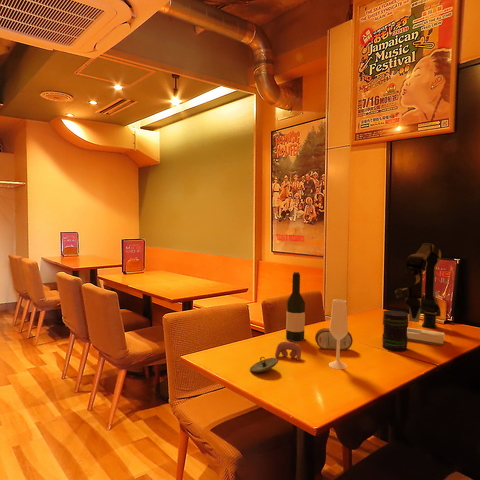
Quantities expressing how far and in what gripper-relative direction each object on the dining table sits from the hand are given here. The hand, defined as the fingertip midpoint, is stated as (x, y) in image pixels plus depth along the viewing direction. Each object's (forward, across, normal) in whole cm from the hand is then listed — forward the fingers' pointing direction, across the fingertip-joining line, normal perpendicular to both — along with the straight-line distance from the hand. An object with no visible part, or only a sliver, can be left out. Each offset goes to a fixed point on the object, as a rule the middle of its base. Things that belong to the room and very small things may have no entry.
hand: (414, 317), depth 173 cm
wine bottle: (+10, +31, -45) cm, 56 cm away
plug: (+2, 0, 0) cm, 2 cm away
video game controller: (+10, +55, -38) cm, 67 cm away
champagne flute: (+10, +52, -19) cm, 56 cm away
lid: (+10, +71, -39) cm, 82 cm away
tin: (+10, +35, -26) cm, 45 cm away
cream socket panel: (+10, 0, 0) cm, 10 cm away
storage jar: (+10, +19, -5) cm, 22 cm away
